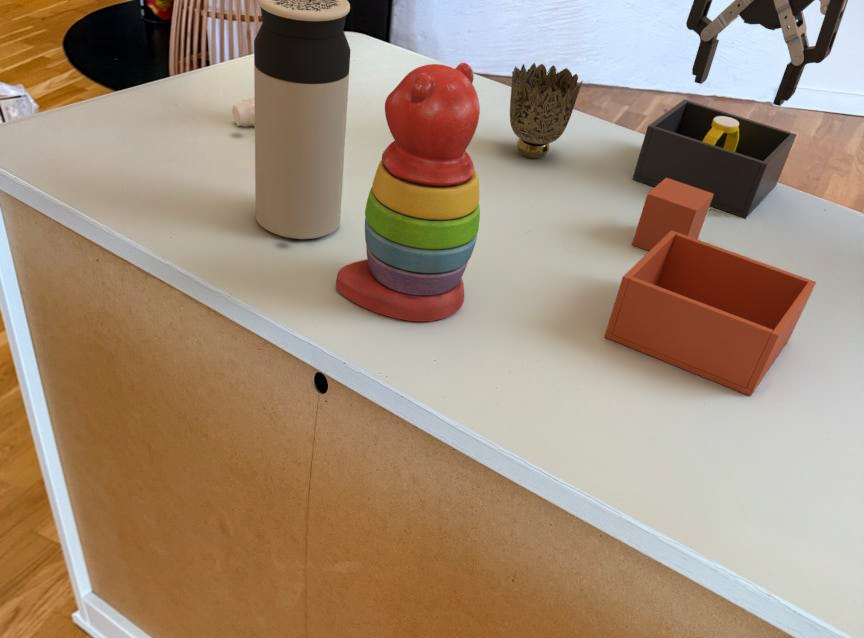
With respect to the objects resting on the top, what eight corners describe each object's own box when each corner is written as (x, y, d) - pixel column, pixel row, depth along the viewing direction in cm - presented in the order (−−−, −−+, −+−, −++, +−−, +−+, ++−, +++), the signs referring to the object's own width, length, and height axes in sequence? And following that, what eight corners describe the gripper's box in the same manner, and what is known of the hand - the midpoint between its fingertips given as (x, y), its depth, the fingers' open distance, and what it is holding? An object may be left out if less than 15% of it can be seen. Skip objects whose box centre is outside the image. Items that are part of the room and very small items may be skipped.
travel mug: (357, 226, 88) (373, 5, 74) (297, 250, 83) (303, 21, 70) (298, 195, 91) (304, -22, 77) (238, 217, 87) (232, -9, 73)
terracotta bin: (788, 340, 82) (816, 281, 77) (750, 396, 75) (779, 335, 71) (651, 288, 85) (671, 229, 81) (603, 337, 79) (622, 276, 75)
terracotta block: (695, 244, 92) (714, 193, 89) (678, 261, 89) (696, 210, 86) (650, 227, 94) (666, 177, 90) (631, 244, 91) (647, 193, 87)
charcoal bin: (776, 185, 104) (797, 134, 100) (745, 218, 98) (767, 164, 93) (668, 150, 108) (684, 99, 104) (632, 179, 101) (647, 125, 97)
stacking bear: (416, 254, 85) (444, 33, 72) (493, 302, 81) (538, 77, 67) (325, 284, 80) (337, 53, 67) (402, 338, 76) (431, 102, 62)
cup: (493, 138, 105) (507, 59, 99) (555, 142, 106) (572, 64, 100) (506, 165, 100) (521, 85, 94) (570, 169, 102) (589, 89, 96)
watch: (711, 167, 105) (731, 110, 100) (732, 177, 103) (753, 119, 99) (681, 179, 102) (701, 121, 97) (702, 188, 100) (723, 130, 96)
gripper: (892, -93, 84) (814, 102, 96) (742, -125, 88) (686, 66, 100) (874, -82, 79) (795, 121, 91) (717, -116, 84) (662, 82, 96)
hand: (738, 92), depth 96 cm, fingers open, 8 cm apart
